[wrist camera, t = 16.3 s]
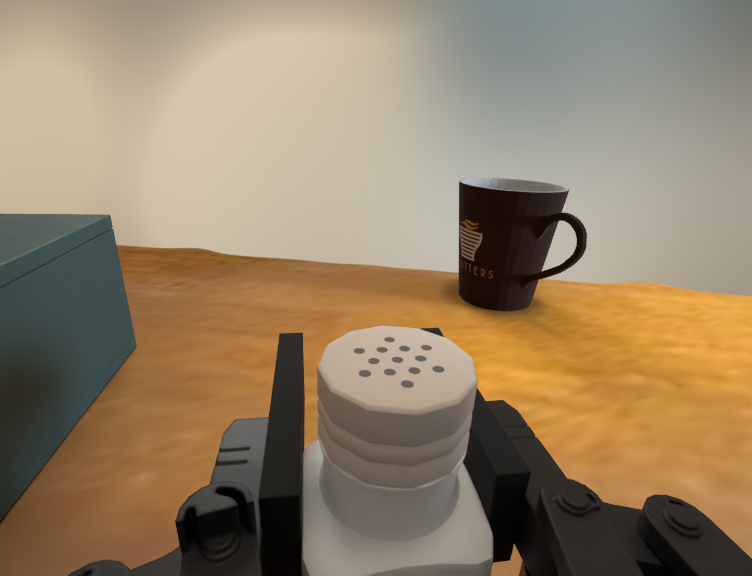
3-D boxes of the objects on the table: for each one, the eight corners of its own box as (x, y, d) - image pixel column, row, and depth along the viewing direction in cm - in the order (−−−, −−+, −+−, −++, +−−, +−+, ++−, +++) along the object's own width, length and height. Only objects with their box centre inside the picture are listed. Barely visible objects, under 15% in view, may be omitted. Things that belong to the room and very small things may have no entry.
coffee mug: (441, 277, 41) (453, 175, 37) (527, 282, 41) (547, 180, 37) (458, 330, 30) (475, 195, 27) (574, 337, 30) (609, 202, 26)
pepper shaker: (468, 724, 10) (541, 417, 7) (307, 758, 10) (295, 437, 6) (425, 565, 14) (457, 314, 10) (306, 582, 13) (297, 319, 10)
